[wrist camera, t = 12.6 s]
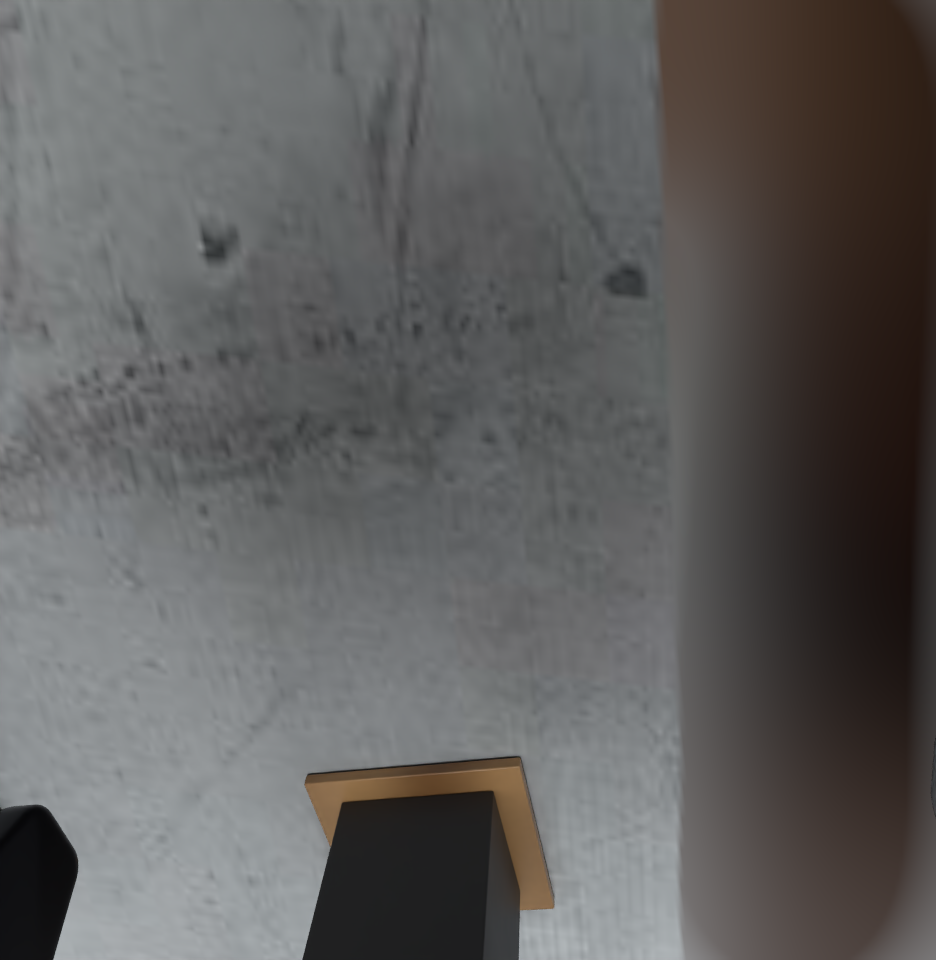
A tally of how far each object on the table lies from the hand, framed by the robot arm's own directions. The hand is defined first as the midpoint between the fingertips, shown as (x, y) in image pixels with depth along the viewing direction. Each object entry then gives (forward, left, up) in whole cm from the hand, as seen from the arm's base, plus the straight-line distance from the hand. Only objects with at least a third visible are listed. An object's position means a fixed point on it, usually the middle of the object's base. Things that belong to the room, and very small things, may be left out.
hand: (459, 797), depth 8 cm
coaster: (+6, +17, -13) cm, 22 cm away
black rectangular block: (+6, +17, -12) cm, 22 cm away
